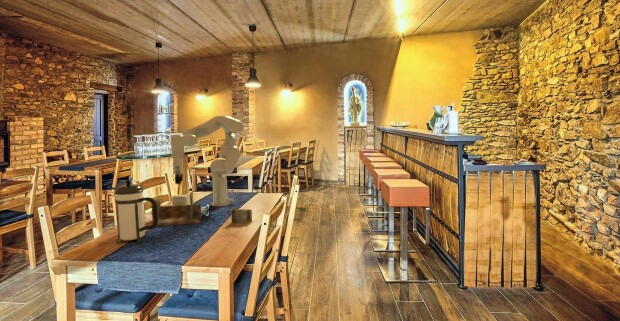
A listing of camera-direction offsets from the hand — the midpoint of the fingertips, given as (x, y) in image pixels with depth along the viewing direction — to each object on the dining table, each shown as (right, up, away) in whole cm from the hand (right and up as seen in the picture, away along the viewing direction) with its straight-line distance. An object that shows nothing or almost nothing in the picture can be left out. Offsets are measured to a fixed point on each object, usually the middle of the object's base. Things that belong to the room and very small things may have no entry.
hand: (179, 182), depth 221 cm
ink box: (0, -20, +3) cm, 20 cm away
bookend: (+14, -20, -11) cm, 26 cm away
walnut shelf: (+4, -22, -13) cm, 26 cm away
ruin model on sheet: (+42, -23, -17) cm, 51 cm away
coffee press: (-5, -26, -45) cm, 52 cm away
